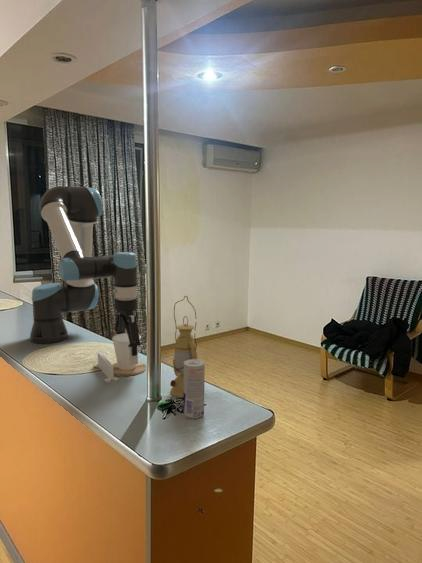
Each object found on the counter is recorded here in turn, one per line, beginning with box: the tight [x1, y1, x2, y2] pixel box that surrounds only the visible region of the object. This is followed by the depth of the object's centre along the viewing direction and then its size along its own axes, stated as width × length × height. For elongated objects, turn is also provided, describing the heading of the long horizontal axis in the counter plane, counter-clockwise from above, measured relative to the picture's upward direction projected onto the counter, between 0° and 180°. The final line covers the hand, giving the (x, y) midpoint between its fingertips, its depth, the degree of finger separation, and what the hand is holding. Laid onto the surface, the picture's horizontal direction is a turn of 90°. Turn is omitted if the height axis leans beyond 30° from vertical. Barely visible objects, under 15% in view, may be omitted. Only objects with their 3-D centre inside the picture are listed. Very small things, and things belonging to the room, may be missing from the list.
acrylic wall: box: [93, 351, 119, 383], centre depth 138 cm, size 16×4×5 cm, turn 30°
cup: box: [111, 332, 142, 370], centre depth 142 cm, size 10×10×11 cm
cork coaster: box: [111, 361, 147, 377], centre depth 142 cm, size 13×13×1 cm
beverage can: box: [183, 358, 206, 419], centre depth 110 cm, size 6×6×15 cm
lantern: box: [169, 295, 199, 398], centre depth 122 cm, size 12×10×30 cm
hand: (127, 358), depth 142 cm, fingers open, 13 cm apart
